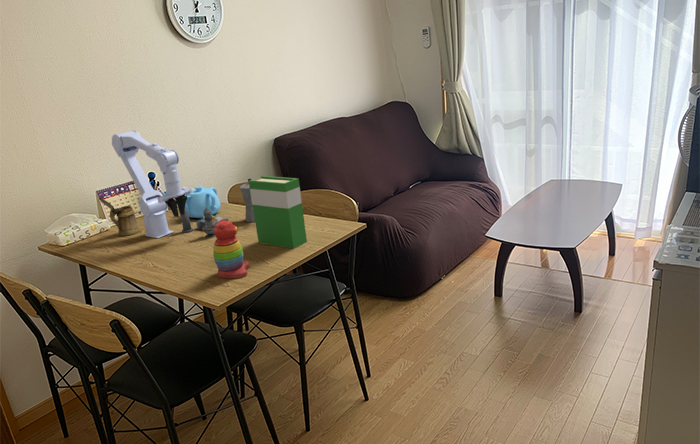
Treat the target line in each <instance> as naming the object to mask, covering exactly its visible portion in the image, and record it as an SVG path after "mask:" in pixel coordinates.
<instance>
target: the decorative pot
mask: <svg viewBox="0 0 700 444" xmlns="http://www.w3.org/2000/svg"><path fill="white" fill-rule="evenodd" d="M185 196H187V201H186V204H185V210H188V215H189V218H192V219H193V218H199V220H202V219H204V217H203V216H204V213H203V212H204V210H205V209H206V207H207V209H209V210H210V211H211V215H212V216H214V215H216V214H217V213H218V212H220V209H221V207H222V206H221V202H220V199H219V197H218V191H217V189H216V188H215V187H209V188H207V187H203V186H201V185H197V186H195V187H194V189H193V190H192V193H191V194H186V195H185Z"/></svg>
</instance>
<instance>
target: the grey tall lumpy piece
mask: <svg viewBox="0 0 700 444" xmlns="http://www.w3.org/2000/svg"><path fill="white" fill-rule="evenodd" d="M203 213H204V220H205V227H203V229H202V230H203V232H204V233H205V234H206V235H204V237H205V238H206V239H212V238H216V236H215V234H214V227H215V225H214V223H213V217H212V216H213V215H211V211H210V210H209V209H207V207H206V209H205V210H204V212H203Z"/></svg>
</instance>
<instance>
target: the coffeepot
mask: <svg viewBox="0 0 700 444" xmlns="http://www.w3.org/2000/svg"><path fill="white" fill-rule="evenodd" d="M249 180H252V178H248V179H247V181H248V183H244V184H242V185H240V186H239V189H240V191H241V196H242V198H243V201H244V204H245V221H246V223H255V218H254V212H253V206H252V199H251V193H250V187H249Z"/></svg>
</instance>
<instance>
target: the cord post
mask: <svg viewBox="0 0 700 444" xmlns="http://www.w3.org/2000/svg"><path fill="white" fill-rule="evenodd" d="M179 214H180V213H179ZM179 216H180V220H181V224H182V230H181V232H182V233H183V234H187V233H188V234H189V233H191V232H193V231H194V228H193V227H192V226H191V221H190V217H189V215H188V210H185V214H184V215H182V214H180V215H179Z"/></svg>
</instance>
